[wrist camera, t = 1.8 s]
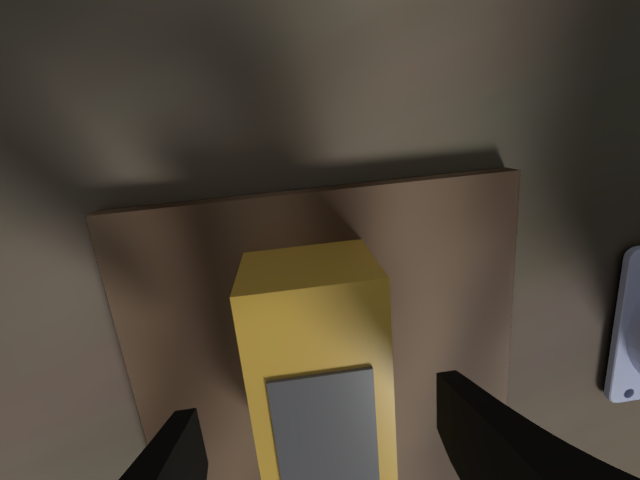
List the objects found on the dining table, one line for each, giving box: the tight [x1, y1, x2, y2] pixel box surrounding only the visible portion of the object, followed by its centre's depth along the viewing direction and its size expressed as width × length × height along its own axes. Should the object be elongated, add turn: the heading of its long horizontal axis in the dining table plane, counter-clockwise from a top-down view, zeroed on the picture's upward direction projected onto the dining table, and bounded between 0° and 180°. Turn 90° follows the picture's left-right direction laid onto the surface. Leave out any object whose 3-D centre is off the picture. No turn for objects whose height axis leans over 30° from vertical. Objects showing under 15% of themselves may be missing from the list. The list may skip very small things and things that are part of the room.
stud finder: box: [230, 239, 398, 480], centre depth 14 cm, size 4×8×4 cm, turn 5°
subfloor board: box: [85, 168, 520, 480], centre depth 18 cm, size 16×24×1 cm, turn 5°
